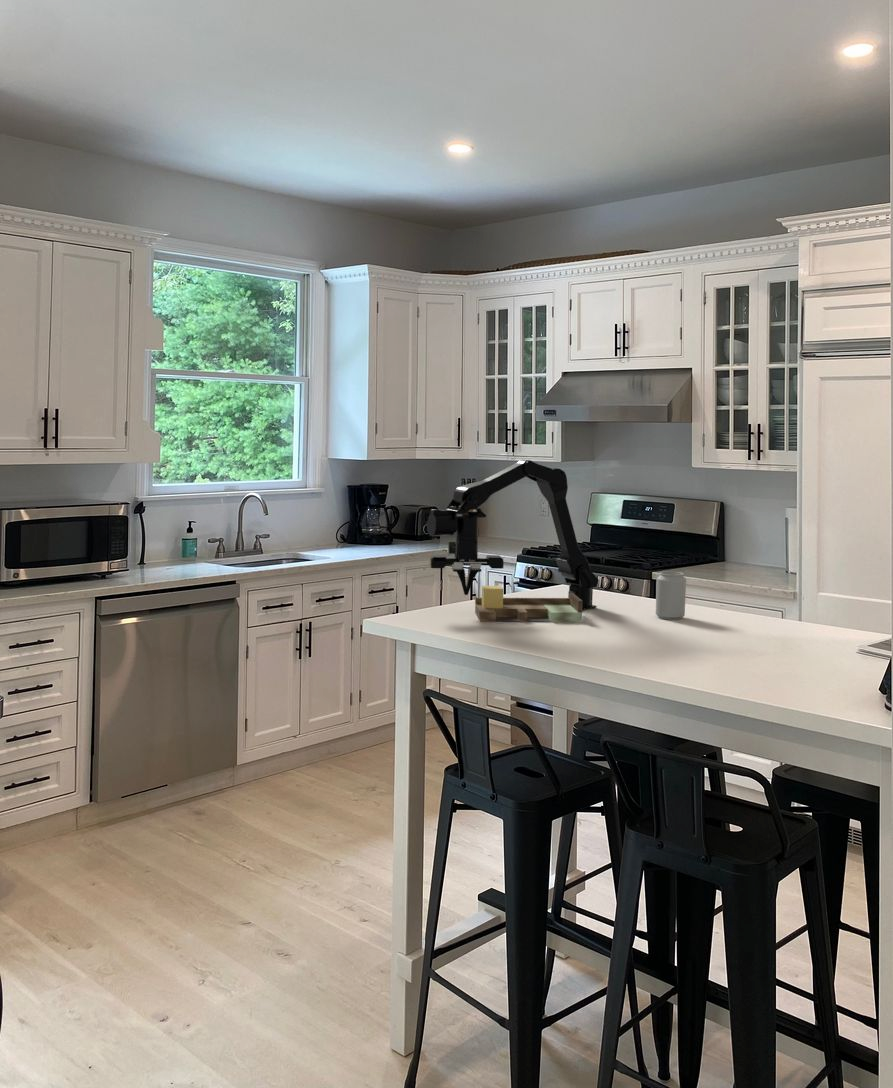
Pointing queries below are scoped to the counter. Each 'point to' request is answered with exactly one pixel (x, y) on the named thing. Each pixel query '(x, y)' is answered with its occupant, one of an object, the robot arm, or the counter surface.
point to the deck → (532, 610)
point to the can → (670, 595)
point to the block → (492, 597)
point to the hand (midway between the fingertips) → (466, 594)
